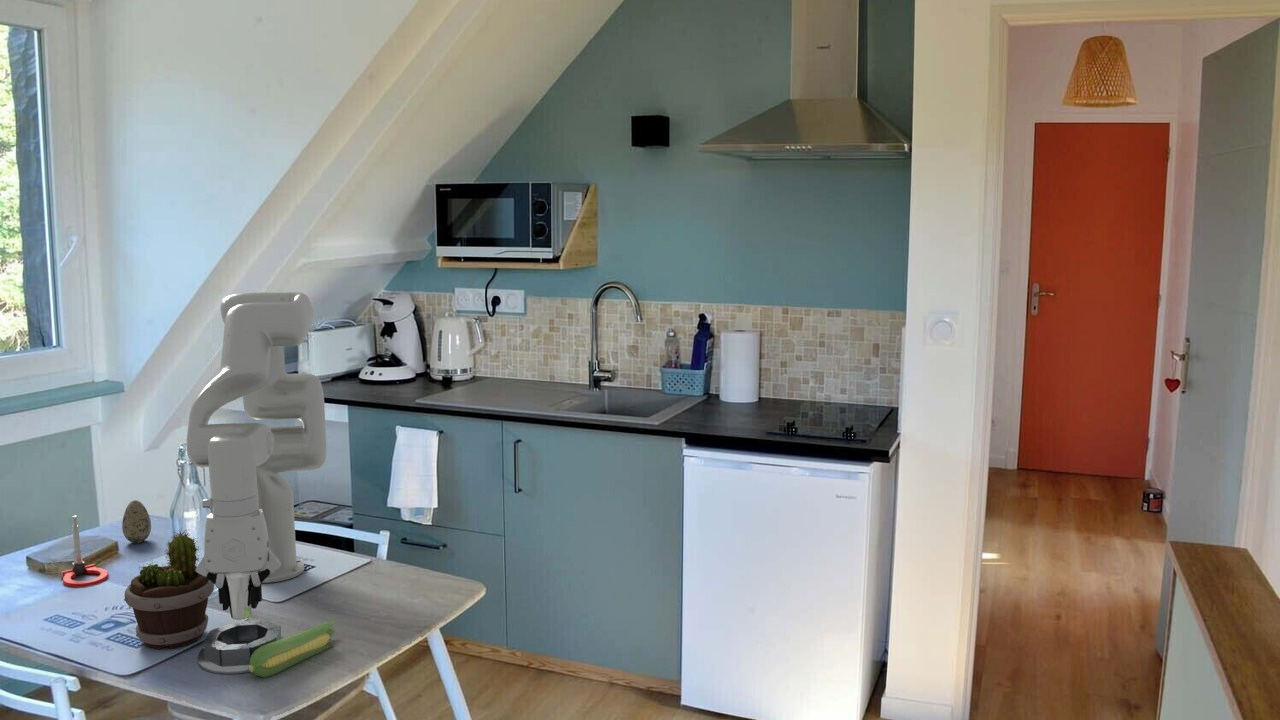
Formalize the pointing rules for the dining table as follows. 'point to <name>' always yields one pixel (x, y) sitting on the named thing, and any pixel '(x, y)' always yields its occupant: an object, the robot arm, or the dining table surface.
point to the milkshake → (239, 594)
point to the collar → (236, 645)
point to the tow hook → (81, 565)
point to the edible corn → (290, 650)
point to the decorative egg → (136, 522)
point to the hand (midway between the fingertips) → (241, 605)
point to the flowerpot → (171, 597)
